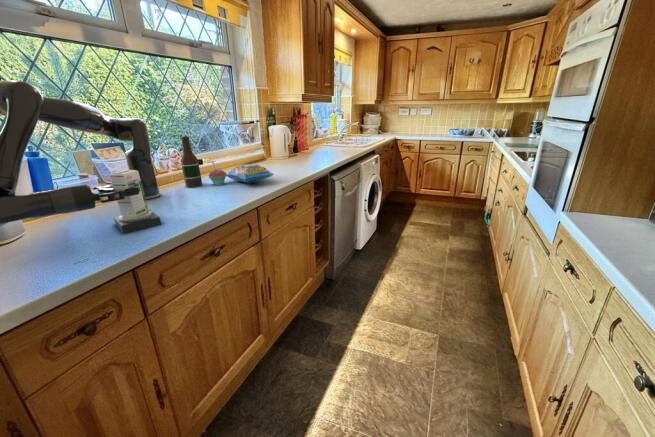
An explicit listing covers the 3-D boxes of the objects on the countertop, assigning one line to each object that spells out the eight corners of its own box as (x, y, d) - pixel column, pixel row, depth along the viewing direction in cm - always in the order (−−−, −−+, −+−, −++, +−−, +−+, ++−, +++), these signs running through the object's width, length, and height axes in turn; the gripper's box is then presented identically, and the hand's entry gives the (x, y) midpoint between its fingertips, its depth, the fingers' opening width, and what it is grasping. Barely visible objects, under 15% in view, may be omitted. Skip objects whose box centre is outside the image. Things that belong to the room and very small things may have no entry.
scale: (115, 224, 102) (112, 215, 101) (151, 216, 109) (149, 207, 108) (123, 233, 94) (120, 223, 92) (161, 224, 101) (159, 214, 99)
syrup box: (135, 217, 97) (124, 173, 92) (120, 216, 99) (108, 172, 94) (149, 212, 103) (138, 169, 98) (134, 211, 104) (123, 169, 99)
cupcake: (206, 185, 150) (202, 161, 146) (218, 181, 158) (214, 158, 154) (220, 186, 147) (216, 162, 143) (231, 182, 155) (228, 159, 151)
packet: (245, 189, 141) (243, 171, 138) (226, 181, 158) (223, 165, 155) (277, 183, 151) (276, 166, 148) (256, 176, 168) (254, 160, 165)
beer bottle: (205, 184, 153) (197, 135, 144) (193, 188, 146) (183, 137, 138) (194, 183, 156) (185, 135, 148) (182, 187, 149) (171, 137, 141)
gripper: (70, 191, 82) (137, 180, 93) (66, 183, 92) (127, 174, 103) (79, 216, 85) (143, 203, 95) (74, 206, 95) (133, 195, 105)
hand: (135, 188), depth 99 cm, fingers closed on syrup box, 7 cm apart
